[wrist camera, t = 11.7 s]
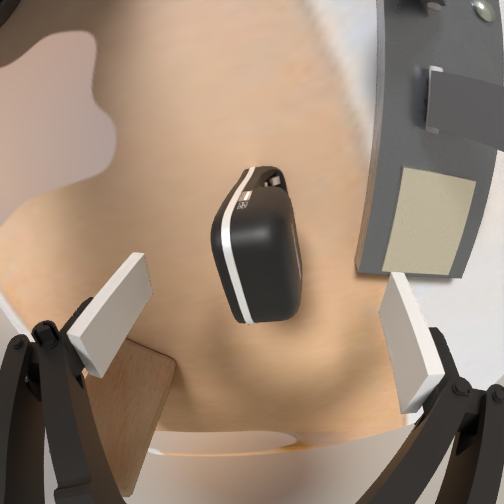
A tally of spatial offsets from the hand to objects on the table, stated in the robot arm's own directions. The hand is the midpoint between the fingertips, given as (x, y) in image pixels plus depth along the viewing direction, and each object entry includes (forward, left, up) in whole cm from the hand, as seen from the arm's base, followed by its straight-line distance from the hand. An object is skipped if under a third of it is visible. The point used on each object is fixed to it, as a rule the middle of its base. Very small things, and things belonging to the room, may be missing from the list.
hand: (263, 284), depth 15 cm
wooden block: (-18, -25, -11) cm, 33 cm away
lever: (+11, +10, -8) cm, 17 cm away
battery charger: (0, 0, -11) cm, 11 cm away
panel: (+13, +9, -11) cm, 19 cm away
